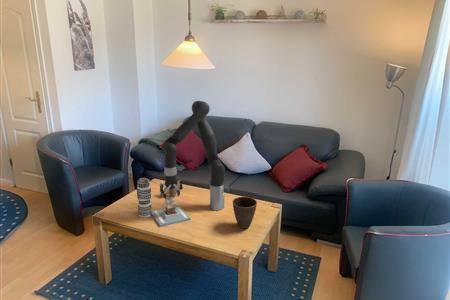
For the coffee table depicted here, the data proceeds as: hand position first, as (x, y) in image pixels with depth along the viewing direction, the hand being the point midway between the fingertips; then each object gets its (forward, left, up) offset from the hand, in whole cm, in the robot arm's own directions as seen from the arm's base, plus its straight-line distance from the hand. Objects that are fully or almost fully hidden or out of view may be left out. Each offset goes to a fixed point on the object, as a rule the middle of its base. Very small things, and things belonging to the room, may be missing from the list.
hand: (171, 197), depth 212 cm
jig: (+1, -1, -14) cm, 14 cm away
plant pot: (-36, +30, -14) cm, 49 cm away
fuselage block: (+1, -1, -13) cm, 13 cm away
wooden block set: (-11, -32, -14) cm, 37 cm away
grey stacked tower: (+15, -11, -14) cm, 23 cm away
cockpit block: (+1, -1, -7) cm, 7 cm away
